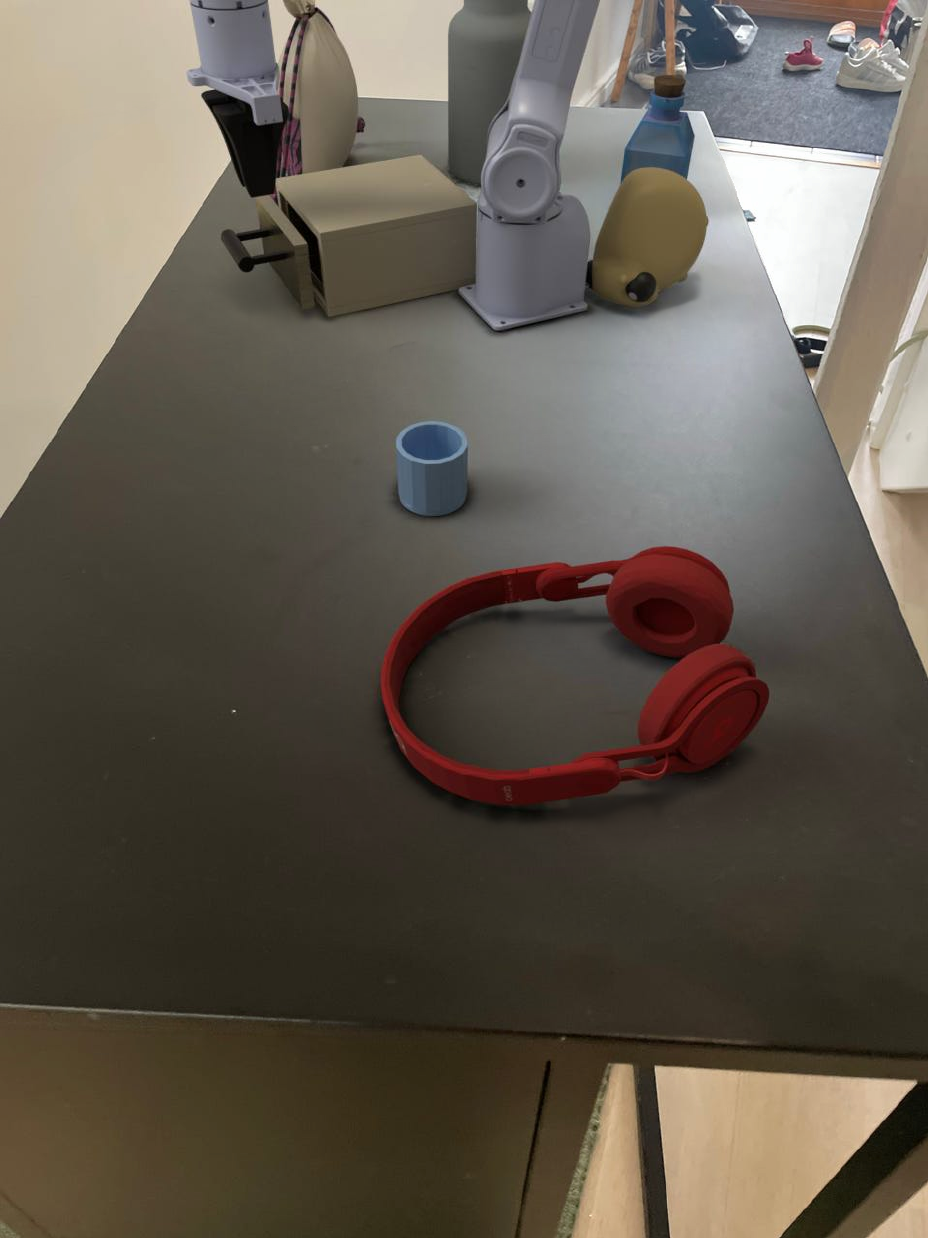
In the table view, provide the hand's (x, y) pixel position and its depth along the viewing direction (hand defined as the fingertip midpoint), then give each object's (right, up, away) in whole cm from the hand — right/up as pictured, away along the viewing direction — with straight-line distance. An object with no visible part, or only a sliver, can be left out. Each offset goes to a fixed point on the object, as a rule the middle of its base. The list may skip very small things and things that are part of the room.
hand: (257, 188), depth 77 cm
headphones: (+23, -41, -26) cm, 54 cm away
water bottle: (+21, +15, +28) cm, 38 cm away
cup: (+15, -28, -13) cm, 34 cm away
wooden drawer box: (+9, -3, +10) cm, 14 cm away
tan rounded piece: (+34, -6, +8) cm, 35 cm away
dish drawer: (+5, -4, +8) cm, 10 cm away
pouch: (+2, +12, +25) cm, 28 cm away
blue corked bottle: (+38, +9, +22) cm, 45 cm away
